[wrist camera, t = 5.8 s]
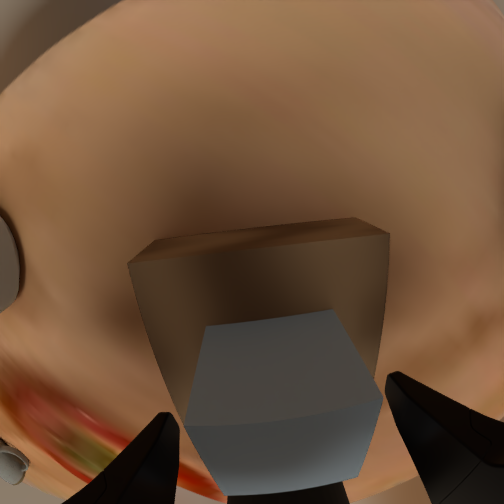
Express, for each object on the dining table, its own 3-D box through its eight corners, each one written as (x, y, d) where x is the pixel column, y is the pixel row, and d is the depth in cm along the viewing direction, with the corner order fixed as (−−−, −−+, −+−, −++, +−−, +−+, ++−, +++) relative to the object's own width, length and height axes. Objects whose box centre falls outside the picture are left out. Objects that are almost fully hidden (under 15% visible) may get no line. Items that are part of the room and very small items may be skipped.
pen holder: (327, 415, 17) (361, 529, 8) (337, 463, 20) (359, 543, 10) (209, 440, 18) (200, 549, 8) (246, 483, 20) (248, 562, 11)
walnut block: (352, 216, 13) (389, 233, 10) (346, 368, 16) (366, 410, 12) (157, 238, 13) (127, 263, 10) (195, 386, 16) (187, 432, 12)
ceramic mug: (17, 460, 24) (5, 484, 17) (-11, 432, 22) (-26, 456, 14) (40, 467, 23) (27, 496, 16) (7, 437, 21) (-9, 466, 14)
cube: (330, 395, 12) (357, 476, 7) (228, 408, 12) (224, 495, 7) (332, 308, 10) (383, 397, 6) (206, 326, 10) (183, 425, 6)
